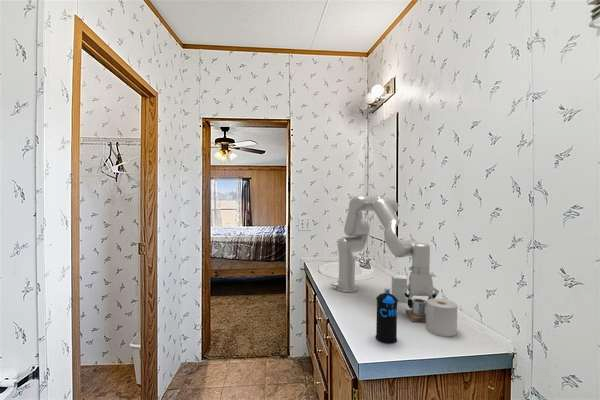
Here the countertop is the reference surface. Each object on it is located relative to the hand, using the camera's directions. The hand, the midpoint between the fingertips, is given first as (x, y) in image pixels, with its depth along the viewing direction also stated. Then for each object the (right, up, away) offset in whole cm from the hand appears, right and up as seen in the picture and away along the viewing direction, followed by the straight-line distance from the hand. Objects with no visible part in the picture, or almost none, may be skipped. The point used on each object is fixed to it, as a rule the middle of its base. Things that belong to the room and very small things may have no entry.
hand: (419, 307), depth 141 cm
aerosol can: (-21, -5, -21) cm, 30 cm away
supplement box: (-2, -5, +25) cm, 26 cm away
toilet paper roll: (+4, -6, -12) cm, 14 cm away
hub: (0, -3, 0) cm, 3 cm away
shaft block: (0, -5, 0) cm, 5 cm away
